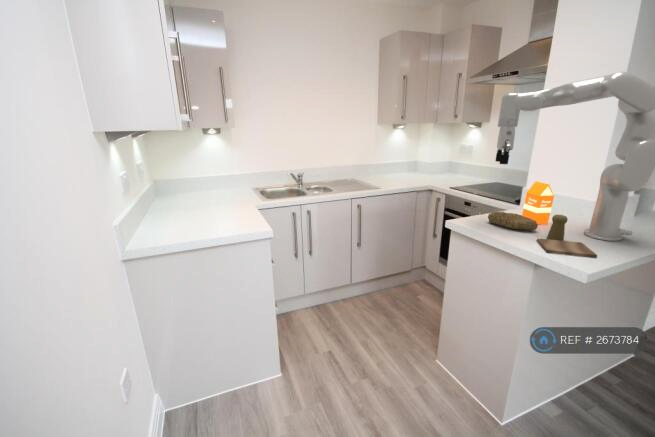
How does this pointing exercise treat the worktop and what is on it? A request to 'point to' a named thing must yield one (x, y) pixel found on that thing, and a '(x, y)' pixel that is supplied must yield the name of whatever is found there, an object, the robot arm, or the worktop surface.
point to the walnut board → (566, 248)
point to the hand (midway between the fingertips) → (501, 162)
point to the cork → (557, 228)
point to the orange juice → (538, 202)
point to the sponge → (512, 221)
